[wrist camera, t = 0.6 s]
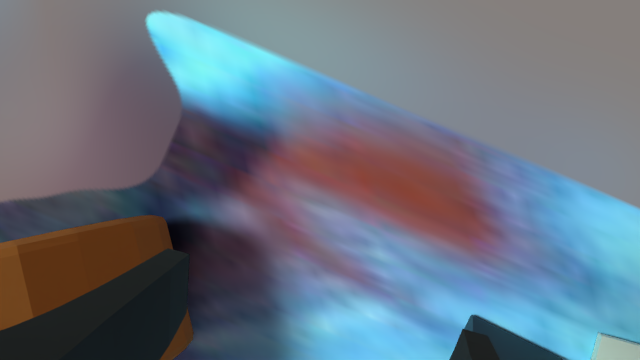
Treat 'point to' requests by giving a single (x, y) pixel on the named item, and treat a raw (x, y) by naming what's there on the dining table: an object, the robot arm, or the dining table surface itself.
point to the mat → (615, 349)
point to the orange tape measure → (78, 267)
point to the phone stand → (508, 342)
